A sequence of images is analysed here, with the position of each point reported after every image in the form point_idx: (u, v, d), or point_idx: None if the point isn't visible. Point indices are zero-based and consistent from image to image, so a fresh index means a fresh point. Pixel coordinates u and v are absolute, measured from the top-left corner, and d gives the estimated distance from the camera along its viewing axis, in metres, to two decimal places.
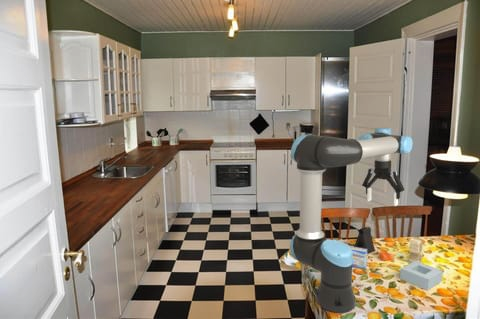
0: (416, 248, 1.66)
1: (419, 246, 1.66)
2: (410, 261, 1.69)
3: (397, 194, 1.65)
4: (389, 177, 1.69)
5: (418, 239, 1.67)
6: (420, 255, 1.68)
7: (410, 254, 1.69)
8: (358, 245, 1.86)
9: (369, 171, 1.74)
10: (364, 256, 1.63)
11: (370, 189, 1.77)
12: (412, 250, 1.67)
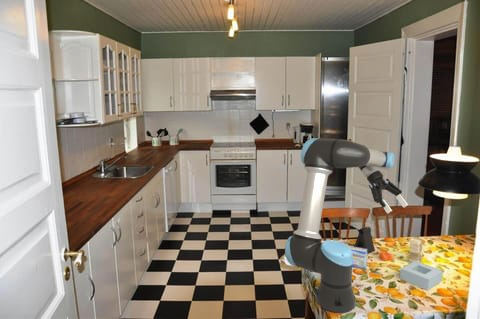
0: (416, 248, 1.66)
1: (419, 246, 1.66)
2: (410, 261, 1.69)
3: (401, 196, 1.79)
4: None
5: (418, 239, 1.67)
6: (420, 255, 1.68)
7: (410, 254, 1.69)
8: (358, 245, 1.86)
9: (373, 184, 1.75)
10: (364, 256, 1.63)
11: None
12: (412, 250, 1.67)
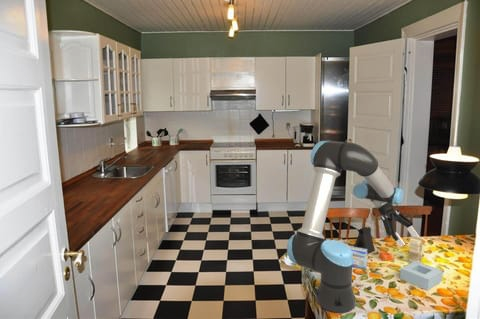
0: (416, 248, 1.66)
1: (419, 246, 1.66)
2: (410, 261, 1.69)
3: None
4: None
5: (418, 239, 1.67)
6: (420, 255, 1.68)
7: (410, 254, 1.69)
8: (358, 245, 1.86)
9: (385, 216, 1.73)
10: (364, 256, 1.63)
11: None
12: (412, 250, 1.67)
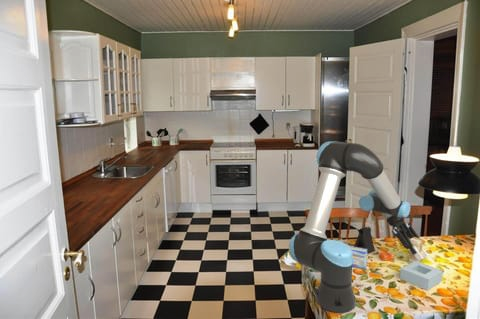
0: (416, 248, 1.66)
1: (419, 246, 1.66)
2: (410, 261, 1.69)
3: None
4: None
5: (418, 239, 1.67)
6: None
7: (410, 254, 1.69)
8: (358, 245, 1.86)
9: (397, 230, 1.69)
10: (364, 256, 1.63)
11: None
12: None
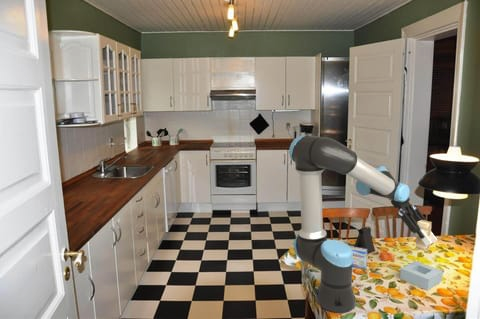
0: None
1: (427, 229, 1.49)
2: (417, 246, 1.52)
3: None
4: None
5: (426, 222, 1.50)
6: None
7: (417, 239, 1.51)
8: (358, 245, 1.86)
9: (403, 212, 1.51)
10: (364, 256, 1.63)
11: None
12: None
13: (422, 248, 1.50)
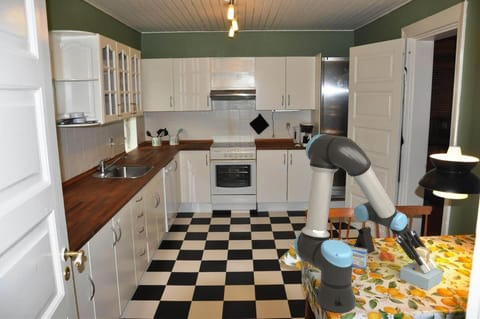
0: None
1: (426, 257, 1.49)
2: None
3: None
4: None
5: (425, 249, 1.50)
6: None
7: (416, 265, 1.52)
8: (358, 245, 1.86)
9: (401, 239, 1.52)
10: (364, 256, 1.63)
11: None
12: None
13: None
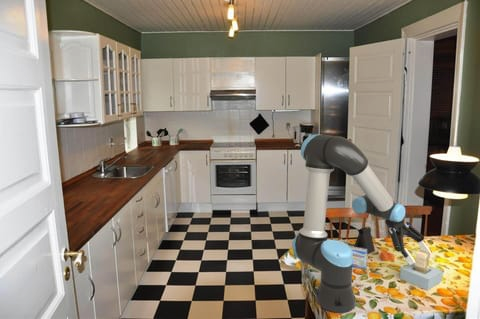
0: (422, 262, 1.50)
1: (426, 260, 1.50)
2: None
3: (423, 242, 1.59)
4: None
5: (424, 252, 1.51)
6: (427, 271, 1.52)
7: (416, 269, 1.53)
8: (358, 245, 1.86)
9: (393, 230, 1.55)
10: (364, 256, 1.63)
11: None
12: (418, 264, 1.51)
13: None
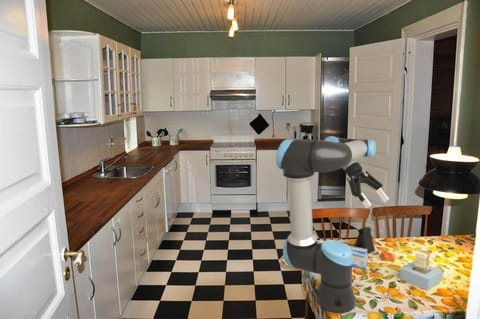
0: (422, 262, 1.50)
1: (426, 260, 1.50)
2: None
3: (381, 189, 1.65)
4: None
5: (424, 252, 1.51)
6: (427, 271, 1.52)
7: (416, 269, 1.53)
8: (358, 245, 1.86)
9: (351, 177, 1.60)
10: (364, 256, 1.63)
11: None
12: (418, 264, 1.51)
13: None
